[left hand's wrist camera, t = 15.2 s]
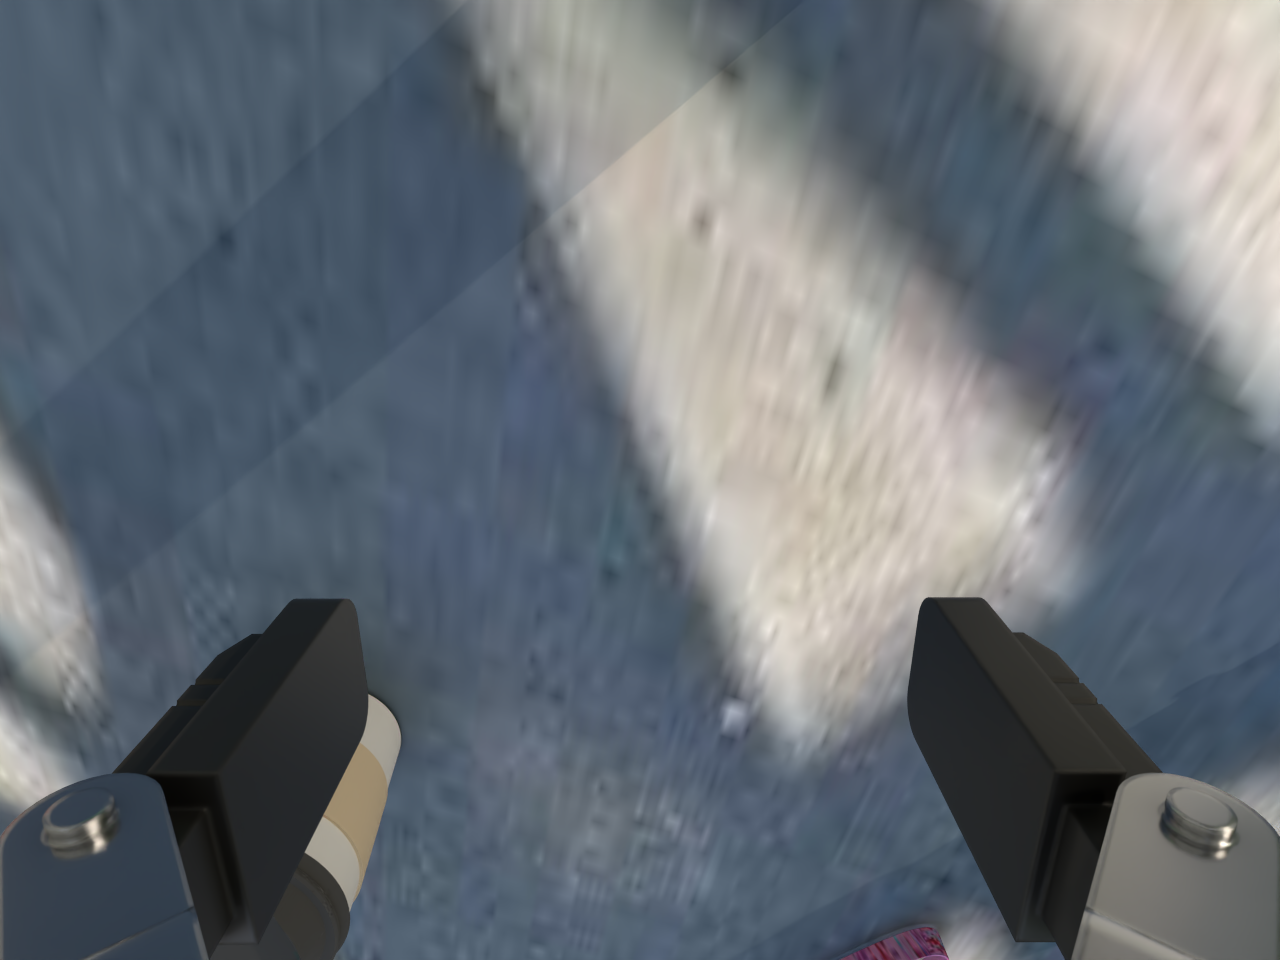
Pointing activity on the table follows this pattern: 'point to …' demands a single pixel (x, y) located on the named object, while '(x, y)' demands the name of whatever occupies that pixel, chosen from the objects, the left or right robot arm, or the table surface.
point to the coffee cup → (332, 856)
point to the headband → (905, 947)
